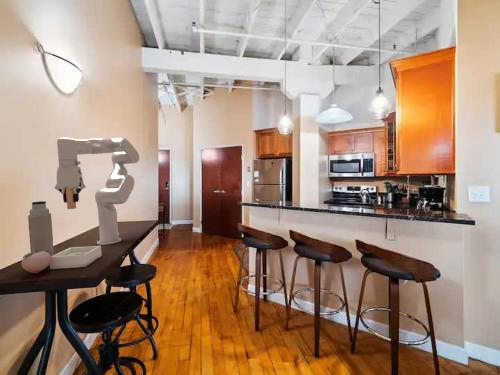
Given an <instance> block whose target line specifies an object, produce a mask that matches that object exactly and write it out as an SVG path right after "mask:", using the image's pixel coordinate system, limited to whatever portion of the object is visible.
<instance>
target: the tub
mask: <svg viewBox="0 0 500 375" xmlns="http://www.w3.org/2000/svg"><path fill="white" fill-rule="evenodd" d="M102 254H103V253H102V245H93V246H92V245H91V246H73V247H68V248H66V249H63V250H61V251H59V252H58V253H54V255H53V256H51V262H50V265H49V269H50V270H57V269H58V270H59V269H71V268H73V269H74V268H85V267H87V266H89V265H90V264H92V263H93V262H95V261H96V260H98V259H99V258H101V257H102Z"/></svg>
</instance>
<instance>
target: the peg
mask: <svg viewBox="0 0 500 375" xmlns="http://www.w3.org/2000/svg"><path fill="white" fill-rule="evenodd" d="M73 194H74V191H73V188H66V198H67V203H66V207H67V209H66V210H74V209H77V202H73Z"/></svg>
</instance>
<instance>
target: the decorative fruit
mask: <svg viewBox="0 0 500 375" xmlns="http://www.w3.org/2000/svg"><path fill="white" fill-rule="evenodd" d="M45 251H46V252H45ZM47 252H48V251H47V250H39V251H37V249H36V252H31V251H30V252H27V253H26V254H24V255H23V256H22V260H21V267H22V268H23V269H24V270H25V271H26V272H28V273H31V274H39V273H40V272H42V271H44V270H45V269H47V268H48V267H49V266H50V265H49V264H50V262H51V256H50V254H49V253H47ZM48 265H49V266H48Z"/></svg>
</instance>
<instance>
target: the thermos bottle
mask: <svg viewBox="0 0 500 375" xmlns="http://www.w3.org/2000/svg"><path fill="white" fill-rule="evenodd" d="M28 213H29V215H28V216H27V222H28V234H29V235H28V236H29V247H30V252H36V249H37V251H39V250H47V251H48V252H47V253H49V254H50V256H53V255H55V249H54V236H53V235H54V234H53V221H52V213H50V209H49V208H48V207H47V201H33V202H31V209H29V212H28ZM45 252H46V251H45ZM48 267H50V264H49V265H48Z"/></svg>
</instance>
